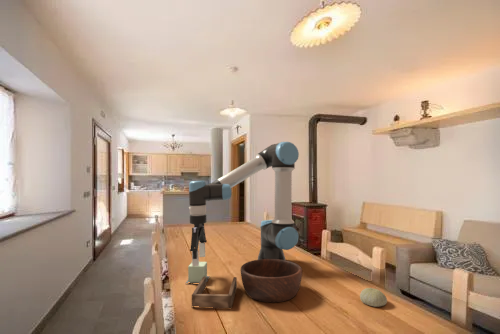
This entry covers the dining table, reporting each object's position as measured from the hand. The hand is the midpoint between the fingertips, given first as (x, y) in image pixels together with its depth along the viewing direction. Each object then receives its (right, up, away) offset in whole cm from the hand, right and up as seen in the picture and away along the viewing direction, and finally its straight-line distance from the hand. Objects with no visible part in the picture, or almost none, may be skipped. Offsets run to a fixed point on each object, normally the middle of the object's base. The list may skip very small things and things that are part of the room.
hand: (199, 261), depth 132 cm
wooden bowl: (+32, -8, -14) cm, 36 cm away
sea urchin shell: (+69, -8, -24) cm, 74 cm away
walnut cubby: (+10, -8, -18) cm, 22 cm away
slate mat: (0, -9, 0) cm, 9 cm away
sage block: (0, -8, 0) cm, 8 cm away
